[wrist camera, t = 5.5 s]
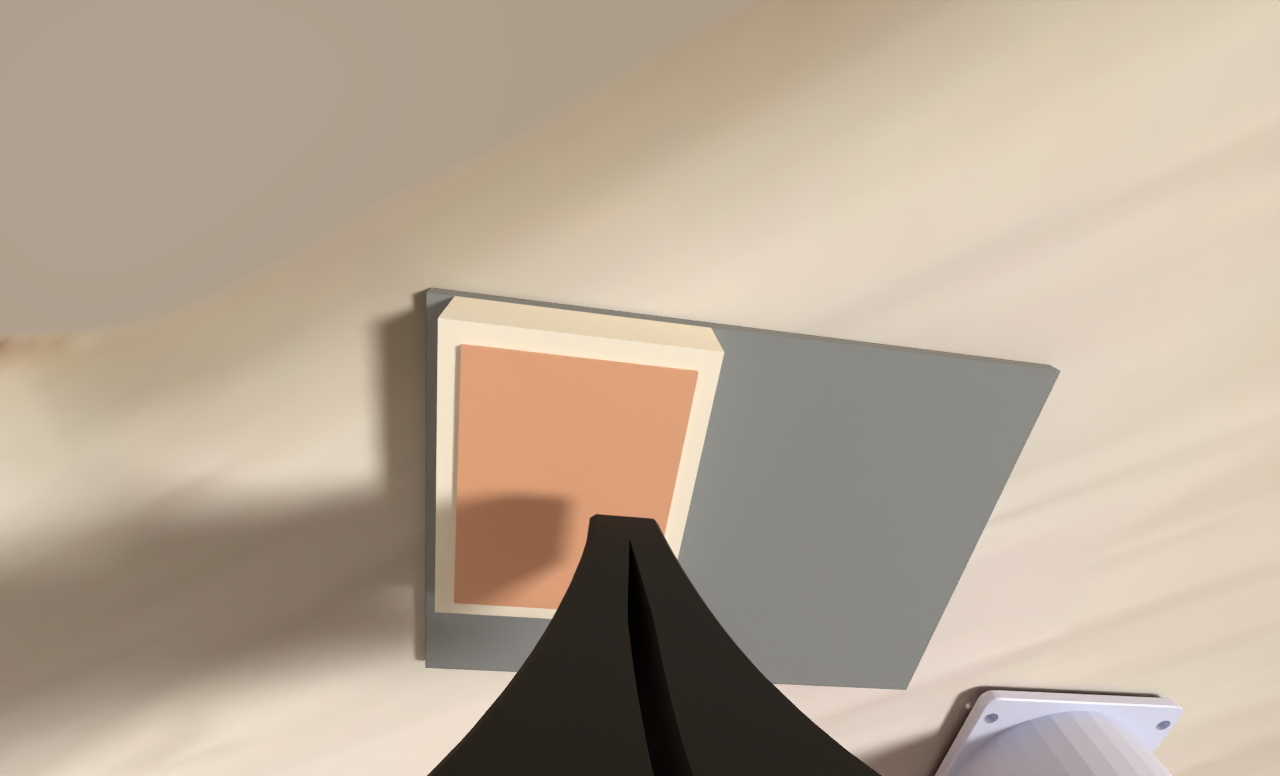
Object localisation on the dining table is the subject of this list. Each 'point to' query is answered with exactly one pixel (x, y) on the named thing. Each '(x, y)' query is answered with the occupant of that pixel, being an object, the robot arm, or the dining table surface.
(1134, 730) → the robot arm
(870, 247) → the dining table surface
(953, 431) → the mat
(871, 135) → the dining table surface
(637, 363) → the block
